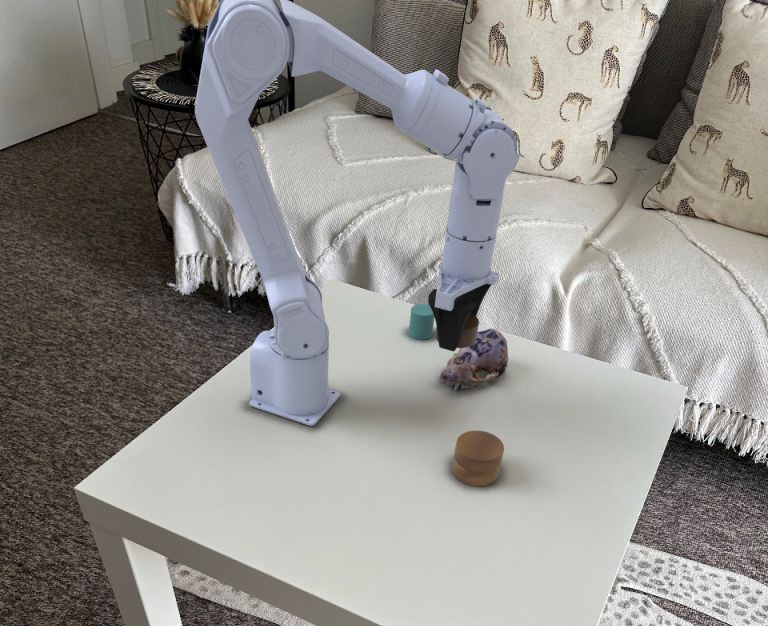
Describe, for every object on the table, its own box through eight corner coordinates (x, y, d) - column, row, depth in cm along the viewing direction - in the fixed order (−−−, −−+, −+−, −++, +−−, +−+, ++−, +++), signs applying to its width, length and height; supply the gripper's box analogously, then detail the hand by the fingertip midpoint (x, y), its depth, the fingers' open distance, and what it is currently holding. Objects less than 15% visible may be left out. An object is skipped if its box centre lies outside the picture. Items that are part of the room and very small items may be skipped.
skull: (457, 399, 95) (460, 356, 91) (418, 379, 100) (421, 338, 96) (517, 376, 101) (522, 335, 98) (478, 358, 106) (482, 319, 103)
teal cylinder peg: (405, 335, 107) (407, 311, 105) (414, 325, 110) (416, 301, 107) (427, 342, 106) (430, 317, 104) (435, 331, 109) (438, 307, 106)
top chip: (447, 464, 83) (449, 450, 81) (463, 438, 86) (465, 425, 85) (492, 479, 81) (496, 465, 80) (507, 452, 85) (510, 439, 84)
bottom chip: (445, 477, 84) (447, 464, 83) (461, 451, 88) (463, 438, 86) (490, 492, 83) (492, 479, 81) (504, 465, 86) (507, 452, 85)
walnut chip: (429, 341, 89) (431, 323, 87) (443, 323, 92) (445, 305, 90) (468, 352, 87) (471, 334, 86) (481, 333, 91) (484, 316, 89)
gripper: (485, 263, 75) (466, 374, 84) (522, 218, 84) (501, 321, 94) (423, 248, 76) (411, 358, 86) (466, 205, 86) (451, 308, 96)
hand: (455, 338), depth 90 cm, fingers closed on walnut chip, 5 cm apart
